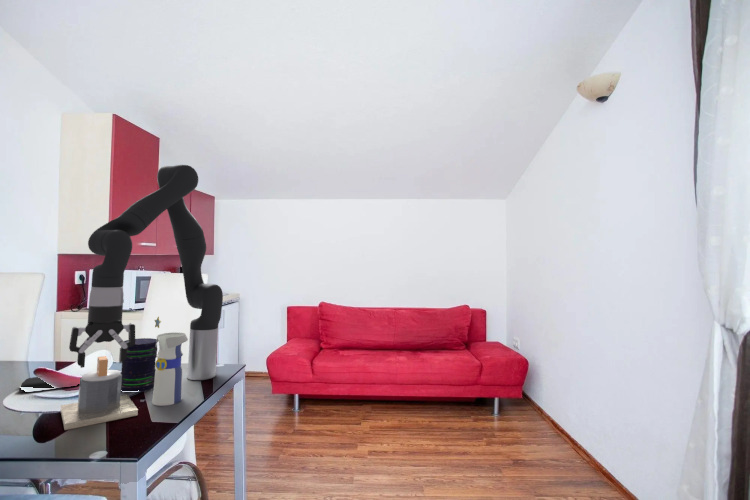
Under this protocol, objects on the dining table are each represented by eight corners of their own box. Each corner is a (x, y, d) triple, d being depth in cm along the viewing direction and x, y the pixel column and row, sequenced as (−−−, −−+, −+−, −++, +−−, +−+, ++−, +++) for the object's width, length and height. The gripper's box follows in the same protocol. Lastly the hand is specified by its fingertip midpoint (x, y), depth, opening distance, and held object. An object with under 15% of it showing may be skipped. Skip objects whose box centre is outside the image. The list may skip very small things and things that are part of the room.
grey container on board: (60, 411, 101) (63, 375, 102) (126, 399, 111) (128, 366, 112) (64, 430, 90) (67, 389, 91) (137, 415, 100) (139, 379, 101)
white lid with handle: (82, 396, 95) (84, 363, 96) (79, 387, 101) (81, 357, 102) (122, 389, 101) (124, 359, 101) (117, 381, 107) (119, 353, 107)
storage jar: (161, 384, 126) (164, 338, 127) (142, 394, 116) (145, 344, 117) (132, 382, 127) (135, 337, 127) (111, 392, 117) (114, 343, 117)
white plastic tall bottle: (169, 407, 106) (175, 318, 108) (143, 404, 108) (149, 316, 109) (189, 398, 114) (194, 314, 116) (165, 395, 116) (170, 313, 117)
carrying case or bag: (81, 379, 130) (22, 386, 120) (81, 370, 130) (23, 376, 121) (81, 387, 121) (18, 395, 112) (82, 378, 121) (19, 385, 112)
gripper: (134, 301, 110) (130, 358, 109) (71, 303, 100) (66, 365, 99) (139, 304, 104) (136, 363, 103) (74, 306, 95) (69, 372, 94)
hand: (102, 364), depth 101 cm, fingers open, 8 cm apart
